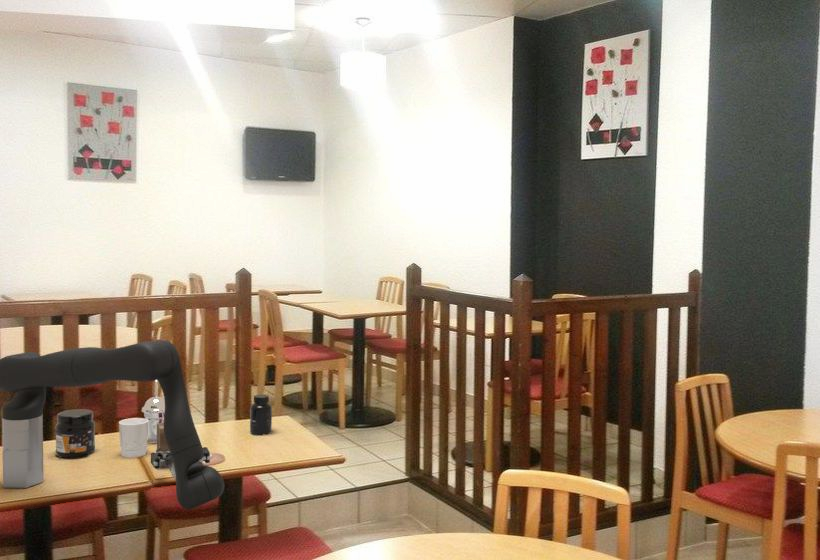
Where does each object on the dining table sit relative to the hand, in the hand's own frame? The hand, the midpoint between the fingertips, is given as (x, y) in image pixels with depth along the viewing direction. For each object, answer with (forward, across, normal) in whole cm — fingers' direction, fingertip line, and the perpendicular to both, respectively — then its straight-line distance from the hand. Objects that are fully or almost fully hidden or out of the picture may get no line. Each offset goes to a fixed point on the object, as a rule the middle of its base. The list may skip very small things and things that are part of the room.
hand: (176, 449), depth 205 cm
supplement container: (+31, +23, +7) cm, 39 cm away
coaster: (+10, 0, +7) cm, 12 cm away
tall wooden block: (+10, 0, +7) cm, 12 cm away
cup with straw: (+36, 0, +7) cm, 36 cm away
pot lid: (+9, -10, +7) cm, 15 cm away
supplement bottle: (+33, -32, +7) cm, 46 cm away
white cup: (+23, +8, +7) cm, 25 cm away
